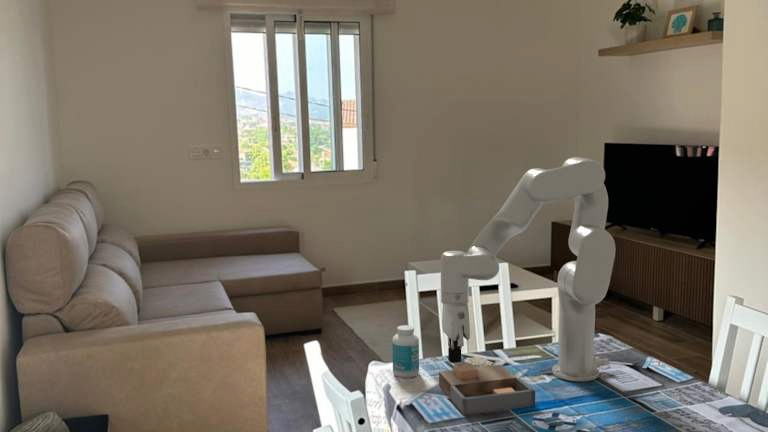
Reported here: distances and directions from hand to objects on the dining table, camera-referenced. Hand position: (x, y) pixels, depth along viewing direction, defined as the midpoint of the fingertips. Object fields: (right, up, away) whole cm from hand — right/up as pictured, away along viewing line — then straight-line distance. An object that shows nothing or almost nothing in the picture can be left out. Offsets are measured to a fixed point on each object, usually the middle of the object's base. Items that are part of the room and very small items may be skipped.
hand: (454, 361), depth 191 cm
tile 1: (+2, -2, -8) cm, 8 cm away
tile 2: (+11, -4, -16) cm, 20 cm away
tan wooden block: (+5, -6, -7) cm, 11 cm away
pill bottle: (-13, -5, +4) cm, 15 cm away
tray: (+8, -7, -16) cm, 20 cm away
